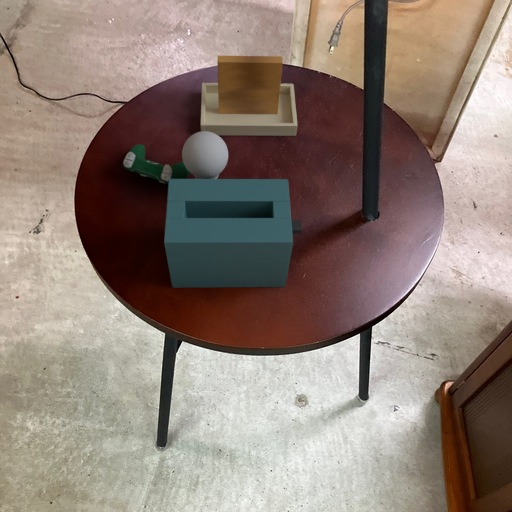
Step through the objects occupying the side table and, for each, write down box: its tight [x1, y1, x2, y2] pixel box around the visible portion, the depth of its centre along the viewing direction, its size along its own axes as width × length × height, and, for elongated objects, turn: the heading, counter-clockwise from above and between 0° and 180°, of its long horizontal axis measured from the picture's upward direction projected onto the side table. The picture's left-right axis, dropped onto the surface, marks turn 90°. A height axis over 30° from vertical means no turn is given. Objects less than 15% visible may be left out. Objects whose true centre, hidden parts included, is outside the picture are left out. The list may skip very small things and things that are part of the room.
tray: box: [200, 82, 298, 137], centre depth 84 cm, size 14×9×2 cm, turn 92°
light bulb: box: [181, 130, 229, 179], centre depth 72 cm, size 6×6×10 cm
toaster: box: [163, 178, 303, 289], centre depth 66 cm, size 16×9×10 cm, turn 92°
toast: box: [217, 55, 284, 114], centre depth 80 cm, size 9×1×10 cm, turn 92°
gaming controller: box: [122, 143, 191, 185], centre depth 76 cm, size 9×4×6 cm
